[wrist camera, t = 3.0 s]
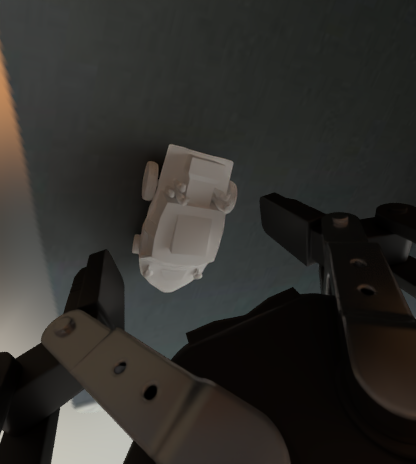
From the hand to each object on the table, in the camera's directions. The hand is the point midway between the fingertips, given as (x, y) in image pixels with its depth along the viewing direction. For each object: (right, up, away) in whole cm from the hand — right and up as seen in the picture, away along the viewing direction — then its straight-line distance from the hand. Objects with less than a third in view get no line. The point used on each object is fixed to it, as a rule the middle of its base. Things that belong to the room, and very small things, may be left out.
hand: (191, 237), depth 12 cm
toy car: (-1, +1, +2) cm, 3 cm away
